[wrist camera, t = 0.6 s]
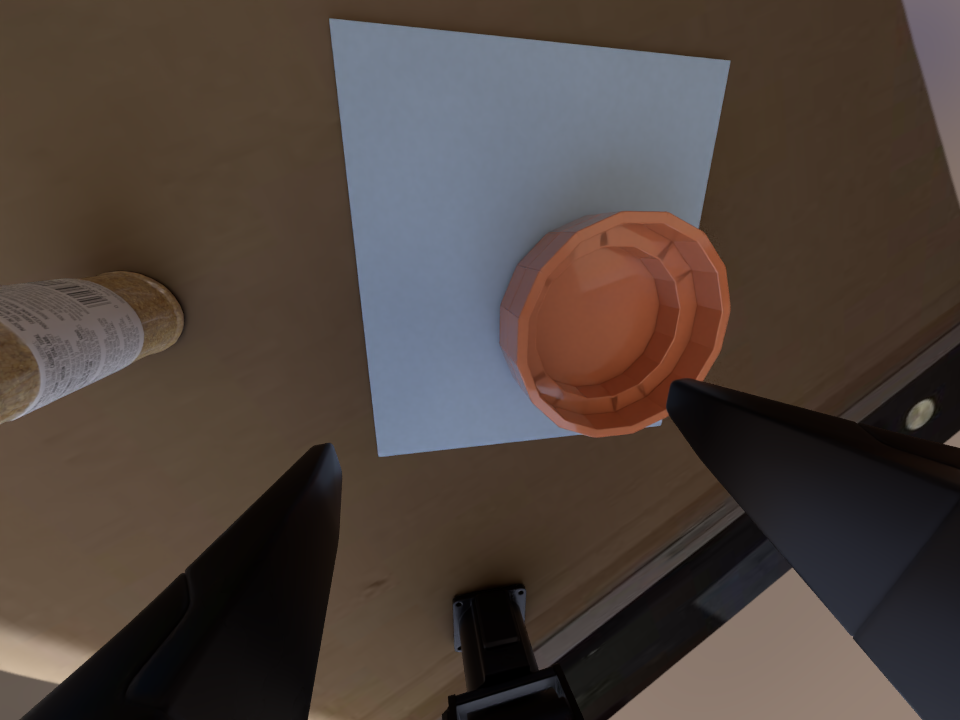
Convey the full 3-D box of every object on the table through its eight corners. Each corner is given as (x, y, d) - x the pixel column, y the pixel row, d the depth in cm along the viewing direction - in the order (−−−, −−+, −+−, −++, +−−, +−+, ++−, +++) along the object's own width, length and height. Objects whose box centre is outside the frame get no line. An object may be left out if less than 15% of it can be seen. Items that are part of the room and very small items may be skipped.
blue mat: (658, 423, 29) (661, 425, 28) (378, 454, 25) (378, 457, 24) (726, 62, 21) (730, 60, 20) (330, 21, 17) (328, 17, 16)
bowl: (659, 397, 28) (703, 425, 24) (496, 412, 25) (513, 447, 21) (692, 216, 23) (754, 212, 19) (499, 214, 21) (522, 209, 17)
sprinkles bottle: (70, 319, 19) (-617, 489, 6) (114, 250, 18) (-549, 283, 5) (162, 368, 20) (-230, 581, 8) (206, 306, 20) (-144, 430, 7)
